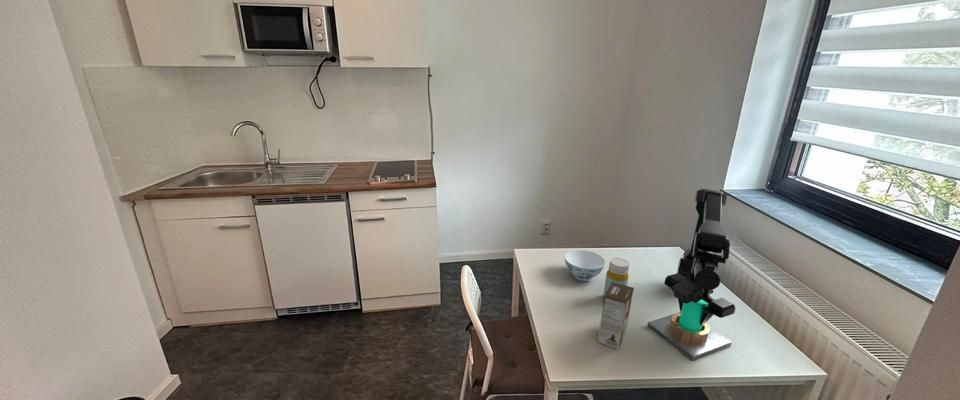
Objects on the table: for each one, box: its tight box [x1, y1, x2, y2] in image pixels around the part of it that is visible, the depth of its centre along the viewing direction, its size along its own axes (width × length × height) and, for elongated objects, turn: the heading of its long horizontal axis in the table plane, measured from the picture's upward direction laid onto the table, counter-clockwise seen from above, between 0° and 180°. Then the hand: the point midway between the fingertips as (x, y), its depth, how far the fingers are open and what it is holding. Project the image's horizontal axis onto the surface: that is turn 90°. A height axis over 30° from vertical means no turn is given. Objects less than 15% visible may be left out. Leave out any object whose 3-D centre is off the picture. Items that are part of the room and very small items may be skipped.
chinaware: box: [564, 249, 606, 282], centre depth 144 cm, size 15×15×8 cm
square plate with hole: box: [646, 311, 732, 362], centre depth 113 cm, size 16×16×4 cm
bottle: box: [602, 257, 630, 299], centre depth 128 cm, size 7×7×15 cm
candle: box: [678, 299, 708, 332], centre depth 111 cm, size 6×6×12 cm
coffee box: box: [597, 282, 635, 350], centre depth 110 cm, size 9×6×16 cm
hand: (691, 318), depth 112 cm, fingers closed on candle, 6 cm apart
